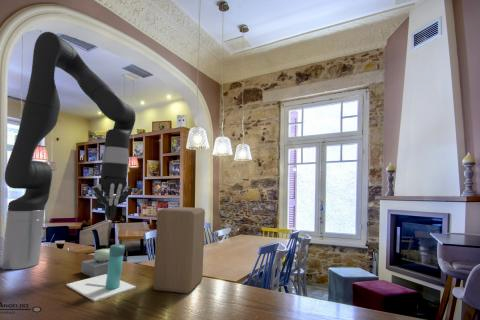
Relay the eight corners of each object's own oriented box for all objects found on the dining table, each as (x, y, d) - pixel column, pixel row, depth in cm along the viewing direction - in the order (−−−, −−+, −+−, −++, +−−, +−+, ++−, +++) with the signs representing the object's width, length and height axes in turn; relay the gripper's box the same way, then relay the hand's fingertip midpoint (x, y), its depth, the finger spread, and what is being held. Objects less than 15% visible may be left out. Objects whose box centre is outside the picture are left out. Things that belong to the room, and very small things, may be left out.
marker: (102, 286, 63) (107, 245, 64) (115, 283, 66) (120, 243, 67) (109, 291, 61) (114, 248, 62) (122, 287, 64) (127, 246, 65)
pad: (66, 285, 65) (66, 283, 65) (105, 275, 73) (105, 273, 73) (94, 301, 57) (95, 299, 57) (135, 288, 65) (135, 286, 65)
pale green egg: (90, 270, 76) (91, 250, 77) (105, 266, 80) (106, 248, 81) (97, 273, 74) (99, 253, 74) (112, 269, 77) (113, 250, 78)
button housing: (80, 272, 76) (81, 261, 76) (107, 265, 82) (108, 256, 83) (93, 277, 71) (94, 266, 72) (121, 270, 78) (122, 260, 78)
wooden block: (170, 277, 73) (173, 206, 75) (203, 280, 71) (206, 207, 73) (151, 291, 63) (156, 209, 65) (189, 295, 61) (192, 210, 63)
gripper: (128, 164, 89) (123, 215, 87) (87, 160, 78) (81, 217, 77) (140, 164, 85) (136, 217, 83) (100, 159, 74) (93, 220, 72)
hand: (109, 217), depth 80 cm, fingers closed
